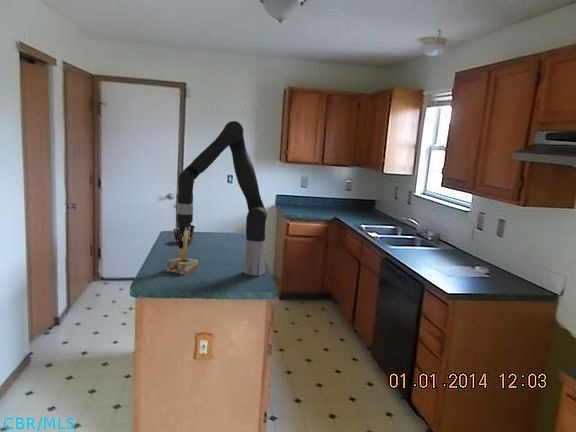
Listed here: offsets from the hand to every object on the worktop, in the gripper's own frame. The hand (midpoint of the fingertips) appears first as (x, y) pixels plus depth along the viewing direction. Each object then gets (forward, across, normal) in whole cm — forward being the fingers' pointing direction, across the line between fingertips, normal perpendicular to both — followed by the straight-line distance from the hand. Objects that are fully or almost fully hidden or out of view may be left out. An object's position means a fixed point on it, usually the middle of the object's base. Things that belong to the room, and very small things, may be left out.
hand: (183, 247), depth 216 cm
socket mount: (+12, -2, 0) cm, 12 cm away
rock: (+12, +46, +33) cm, 58 cm away
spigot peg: (+5, 0, 0) cm, 5 cm away
